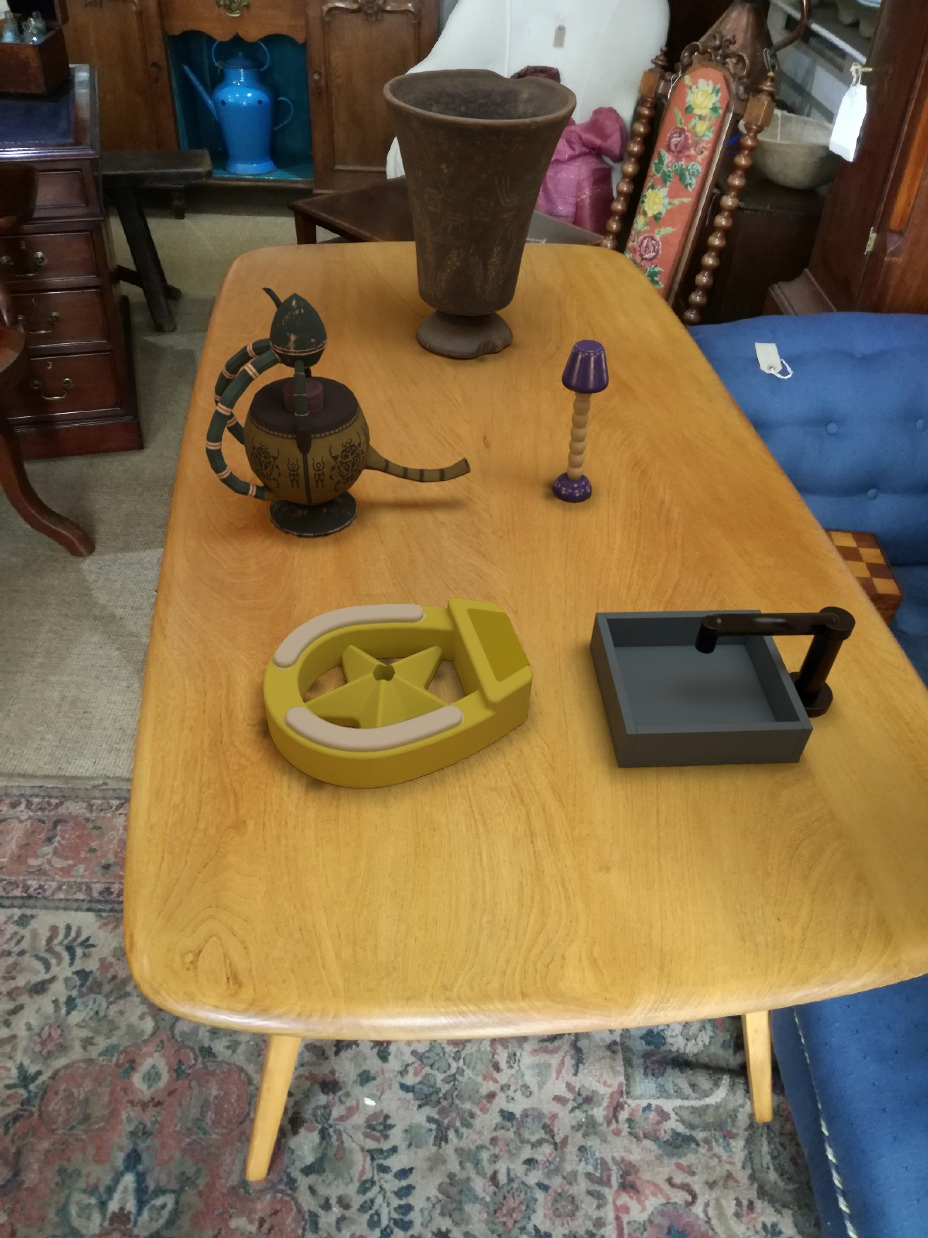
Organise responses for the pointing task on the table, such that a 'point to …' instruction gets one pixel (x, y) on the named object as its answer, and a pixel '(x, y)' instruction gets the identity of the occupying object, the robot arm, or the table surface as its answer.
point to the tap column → (816, 675)
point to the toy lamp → (581, 413)
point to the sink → (694, 693)
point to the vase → (473, 191)
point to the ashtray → (395, 690)
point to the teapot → (300, 430)
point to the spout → (774, 626)
